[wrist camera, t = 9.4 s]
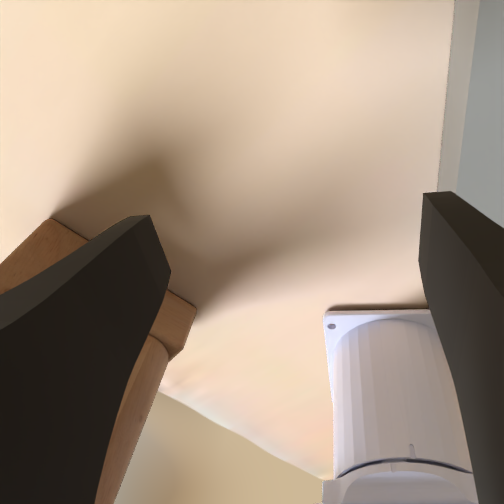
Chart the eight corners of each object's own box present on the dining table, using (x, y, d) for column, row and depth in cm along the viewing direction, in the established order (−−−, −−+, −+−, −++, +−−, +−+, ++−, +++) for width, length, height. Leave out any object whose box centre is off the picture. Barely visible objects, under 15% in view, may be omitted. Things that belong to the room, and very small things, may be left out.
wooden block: (49, 213, 24) (-352, 603, 10) (200, 306, 27) (54, 712, 13) (32, 249, 26) (-321, 614, 12) (173, 332, 29) (23, 706, 15)
